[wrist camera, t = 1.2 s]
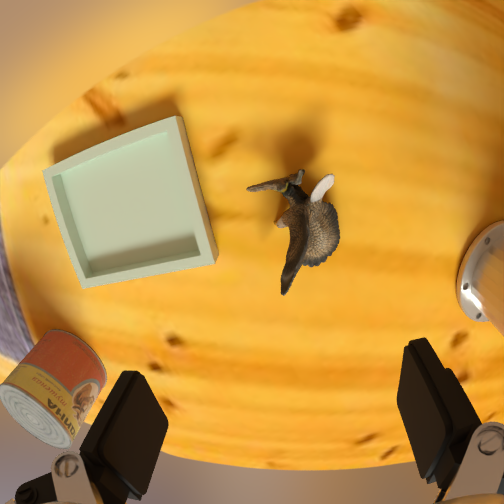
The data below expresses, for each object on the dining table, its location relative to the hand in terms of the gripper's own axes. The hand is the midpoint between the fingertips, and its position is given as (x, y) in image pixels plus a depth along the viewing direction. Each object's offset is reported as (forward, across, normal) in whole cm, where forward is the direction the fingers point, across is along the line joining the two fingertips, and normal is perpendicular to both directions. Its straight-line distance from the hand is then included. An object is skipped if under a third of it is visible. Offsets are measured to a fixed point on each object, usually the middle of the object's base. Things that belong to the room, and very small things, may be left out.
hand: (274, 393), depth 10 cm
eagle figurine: (+20, -2, -1) cm, 20 cm away
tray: (+19, +13, -5) cm, 24 cm away
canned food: (+19, +31, +14) cm, 39 cm away
